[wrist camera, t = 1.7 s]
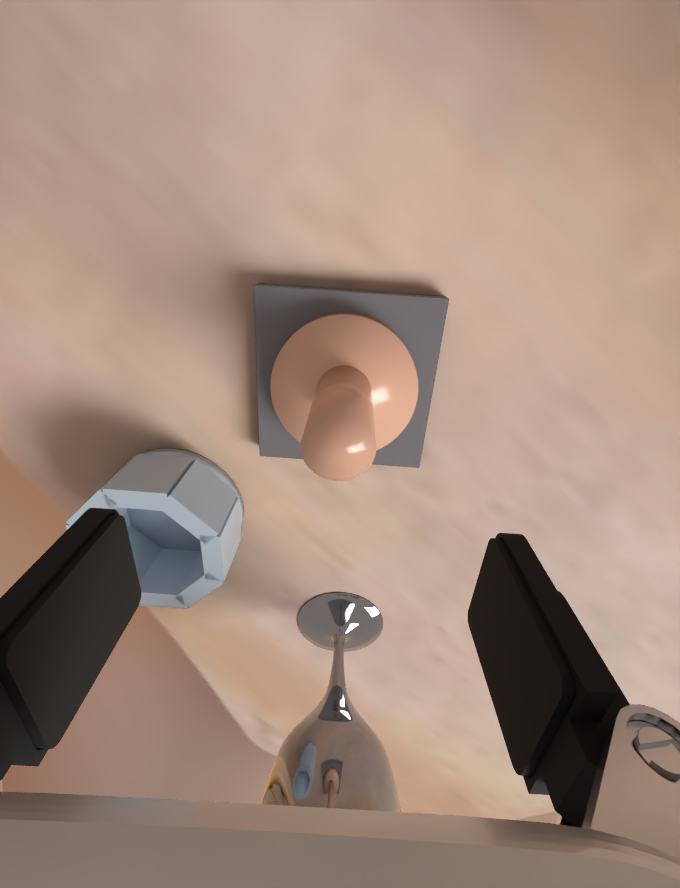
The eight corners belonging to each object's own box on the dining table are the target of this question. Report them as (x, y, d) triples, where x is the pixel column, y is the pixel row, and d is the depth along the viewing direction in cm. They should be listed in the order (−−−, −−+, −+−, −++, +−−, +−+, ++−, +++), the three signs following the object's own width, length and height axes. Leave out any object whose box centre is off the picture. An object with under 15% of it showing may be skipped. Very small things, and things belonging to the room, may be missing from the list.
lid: (426, 317, 21) (459, 356, 14) (405, 452, 24) (423, 535, 18) (273, 306, 21) (231, 340, 14) (275, 442, 25) (243, 521, 18)
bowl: (240, 453, 26) (216, 497, 22) (246, 557, 30) (227, 612, 26) (104, 443, 26) (52, 485, 22) (129, 548, 30) (89, 601, 26)
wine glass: (274, 608, 33) (215, 862, 19) (359, 575, 31) (359, 834, 17) (323, 663, 36) (302, 917, 22) (404, 637, 34) (434, 899, 20)
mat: (445, 296, 21) (448, 299, 20) (417, 459, 26) (419, 467, 25) (258, 283, 21) (253, 285, 20) (263, 448, 26) (259, 455, 25)
